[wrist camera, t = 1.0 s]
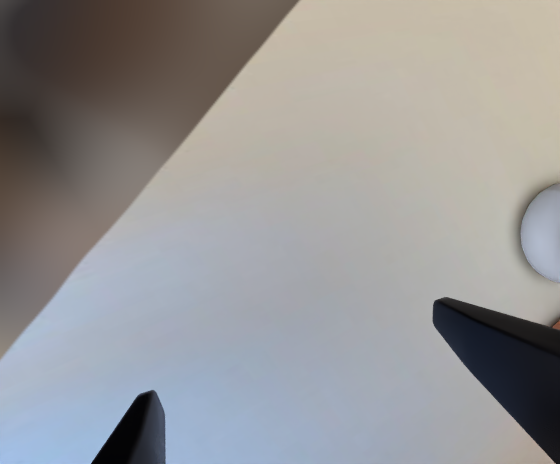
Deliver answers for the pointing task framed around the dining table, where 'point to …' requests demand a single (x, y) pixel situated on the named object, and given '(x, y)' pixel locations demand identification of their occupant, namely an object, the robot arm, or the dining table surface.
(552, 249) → the donut
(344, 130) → the dining table surface
